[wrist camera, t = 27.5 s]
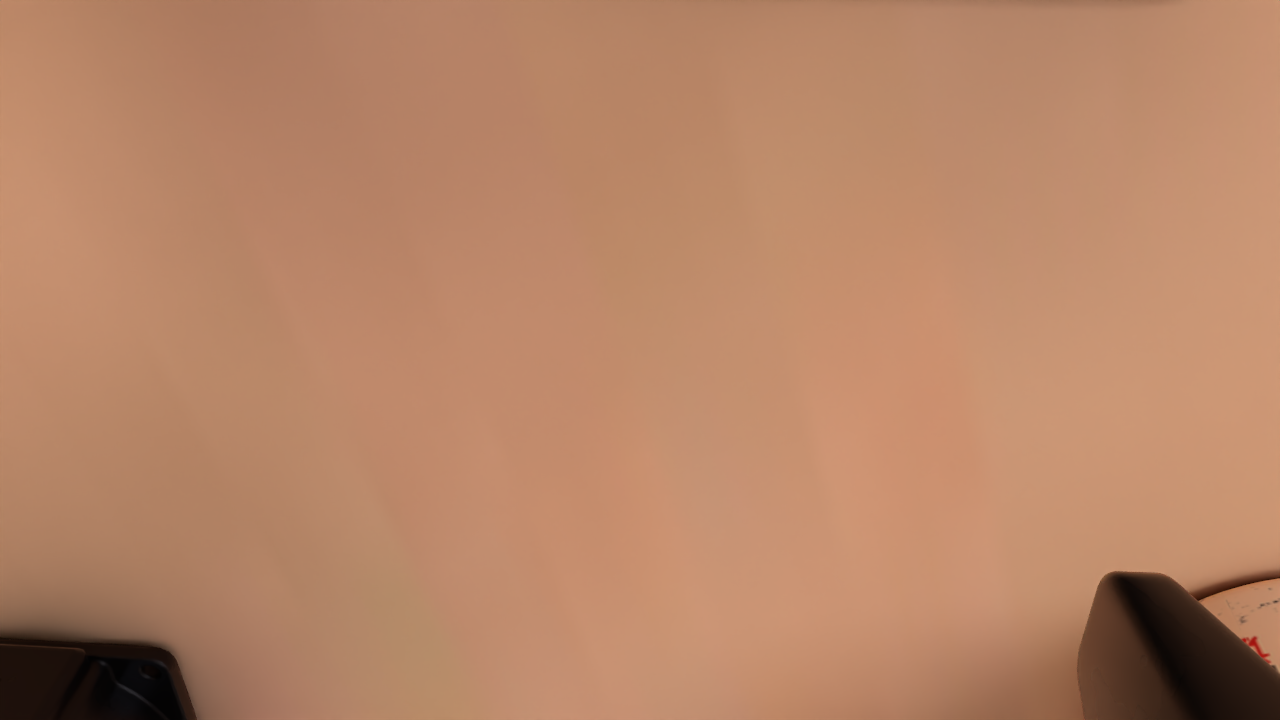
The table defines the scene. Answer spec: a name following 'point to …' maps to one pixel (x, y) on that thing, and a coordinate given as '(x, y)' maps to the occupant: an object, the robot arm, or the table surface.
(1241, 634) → the teacup with lid
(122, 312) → the table surface
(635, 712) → the table surface
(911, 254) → the table surface
